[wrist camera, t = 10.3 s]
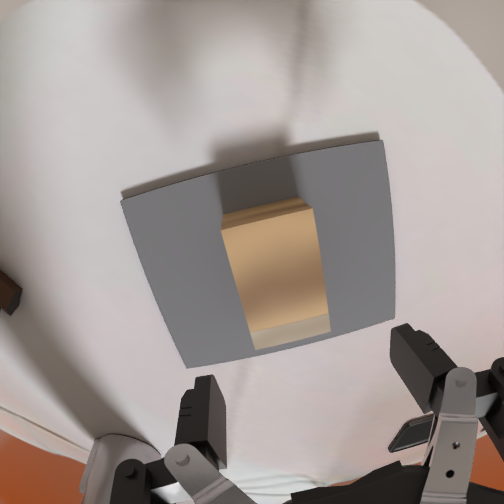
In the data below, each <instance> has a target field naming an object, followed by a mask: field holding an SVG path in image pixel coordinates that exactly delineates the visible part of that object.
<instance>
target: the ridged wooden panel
mask: <svg viewBox="0 0 504 504" xmlns="http://www.w3.org/2000/svg"><path fill="white" fill-rule="evenodd" d="M21 293H22V288H21V287H19V286H18V285H17V284H16V283H15V282H14V281H13V280H12V279H10V278H9V277H8V276H7V275H6V274H5V273H4V272H3V271H2V270H1V269H0V309H1V308H2V309H3V310H4V311H5V312H6V313H7V314H9V315H10V316H11V315H12V314H13V312H14V311H15V310H16V309H17V307H18V306H19V302H20V298H21Z"/></svg>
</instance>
